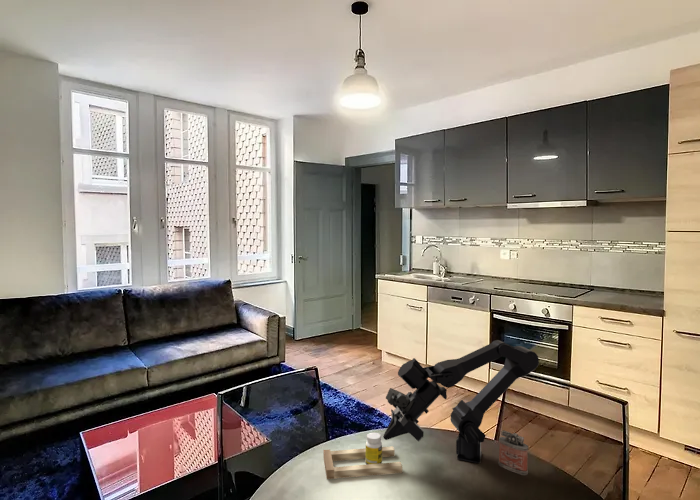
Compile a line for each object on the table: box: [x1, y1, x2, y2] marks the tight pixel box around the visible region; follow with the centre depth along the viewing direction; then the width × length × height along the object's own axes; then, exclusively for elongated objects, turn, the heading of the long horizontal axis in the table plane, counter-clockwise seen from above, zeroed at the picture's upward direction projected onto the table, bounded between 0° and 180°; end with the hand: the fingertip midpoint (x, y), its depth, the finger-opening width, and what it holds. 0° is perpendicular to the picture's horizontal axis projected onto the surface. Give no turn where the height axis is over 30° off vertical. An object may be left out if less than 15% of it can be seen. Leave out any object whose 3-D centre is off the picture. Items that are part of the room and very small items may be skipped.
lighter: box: [498, 430, 529, 476], centre depth 116 cm, size 8×3×10 cm, turn 47°
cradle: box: [323, 445, 403, 480], centre depth 118 cm, size 21×11×2 cm, turn 98°
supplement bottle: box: [365, 432, 383, 465], centre depth 118 cm, size 5×5×8 cm
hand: (384, 438), depth 119 cm, fingers closed
